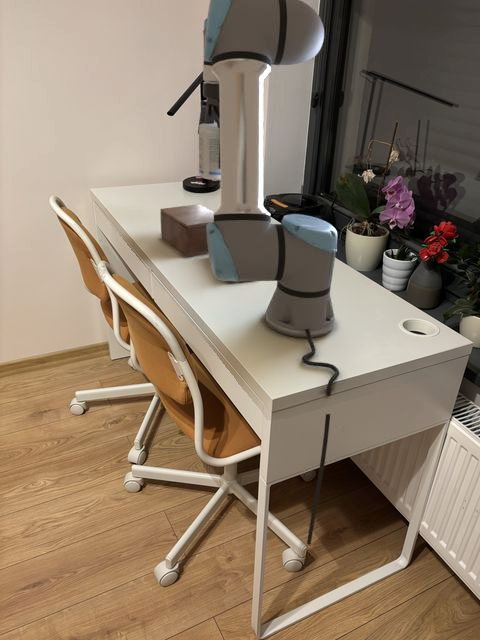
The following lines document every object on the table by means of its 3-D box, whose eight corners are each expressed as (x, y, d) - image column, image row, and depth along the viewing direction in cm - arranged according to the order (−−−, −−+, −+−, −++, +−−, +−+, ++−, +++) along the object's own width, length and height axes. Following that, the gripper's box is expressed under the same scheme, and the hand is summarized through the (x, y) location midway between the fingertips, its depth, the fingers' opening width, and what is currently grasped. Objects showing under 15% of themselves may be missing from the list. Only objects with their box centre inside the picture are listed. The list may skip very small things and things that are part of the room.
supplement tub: (235, 176, 170) (237, 125, 163) (221, 182, 163) (223, 129, 155) (207, 171, 173) (208, 121, 166) (192, 177, 166) (192, 125, 158)
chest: (225, 250, 158) (226, 222, 153) (185, 257, 151) (185, 228, 147) (199, 233, 168) (199, 206, 164) (161, 239, 162) (160, 211, 158)
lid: (227, 222, 153) (227, 219, 152) (187, 228, 146) (187, 225, 146) (199, 206, 164) (199, 204, 164) (160, 211, 158) (160, 208, 157)
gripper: (249, 87, 149) (245, 172, 160) (208, 78, 164) (207, 156, 176) (225, 87, 145) (222, 174, 156) (186, 77, 160) (186, 157, 172)
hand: (214, 164), depth 166 cm, fingers closed on supplement tub, 10 cm apart
